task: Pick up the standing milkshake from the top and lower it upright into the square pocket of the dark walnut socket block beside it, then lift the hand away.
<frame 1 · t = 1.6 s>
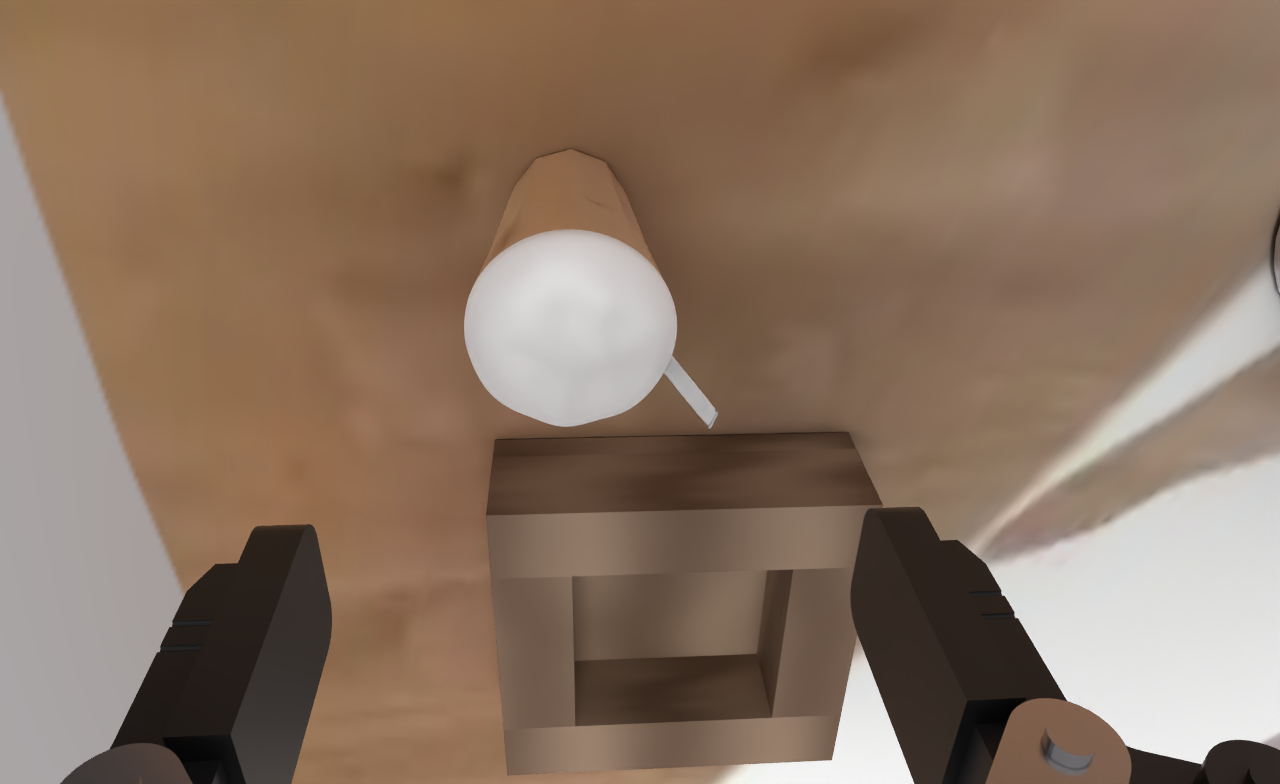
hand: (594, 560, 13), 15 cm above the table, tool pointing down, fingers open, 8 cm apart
milkshake: (582, 206, 27), on the table
socket block: (667, 570, 34), on the table
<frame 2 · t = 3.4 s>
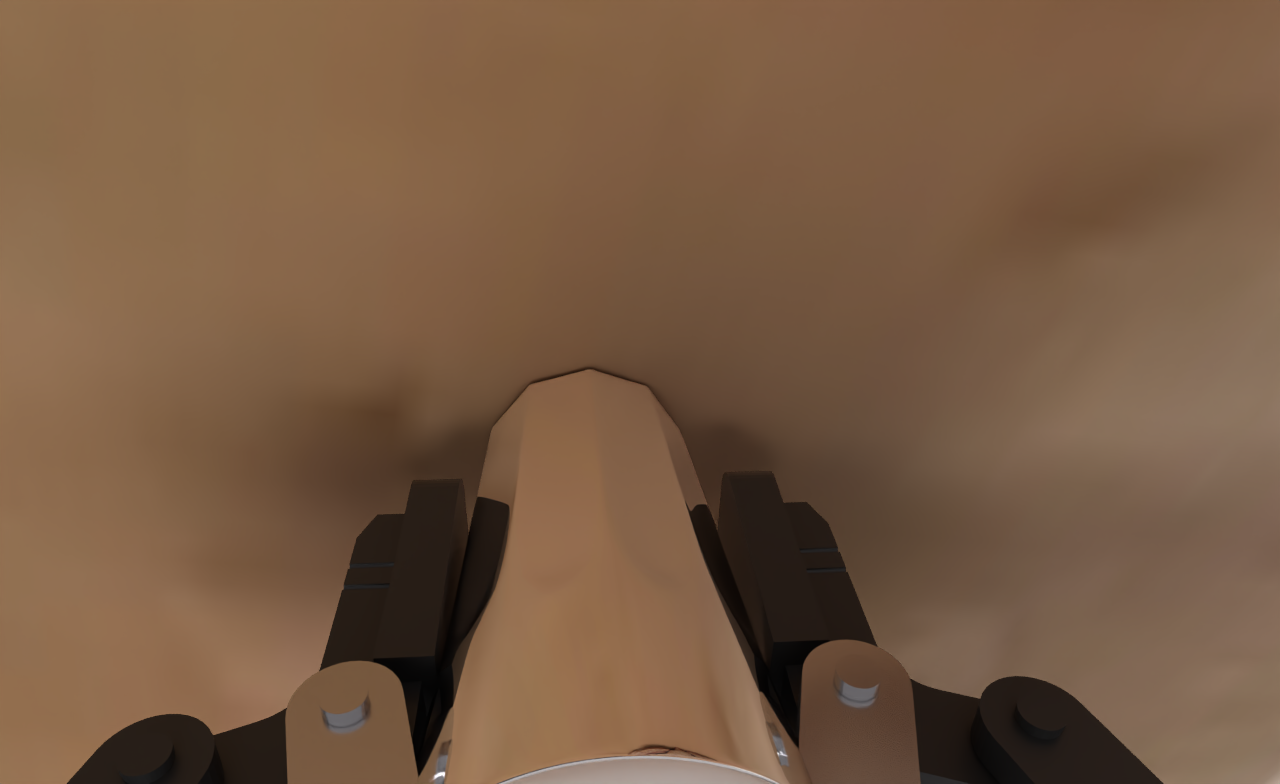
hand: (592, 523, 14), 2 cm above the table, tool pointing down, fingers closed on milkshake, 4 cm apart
milkshake: (607, 449, 16), on the table, touching gripper
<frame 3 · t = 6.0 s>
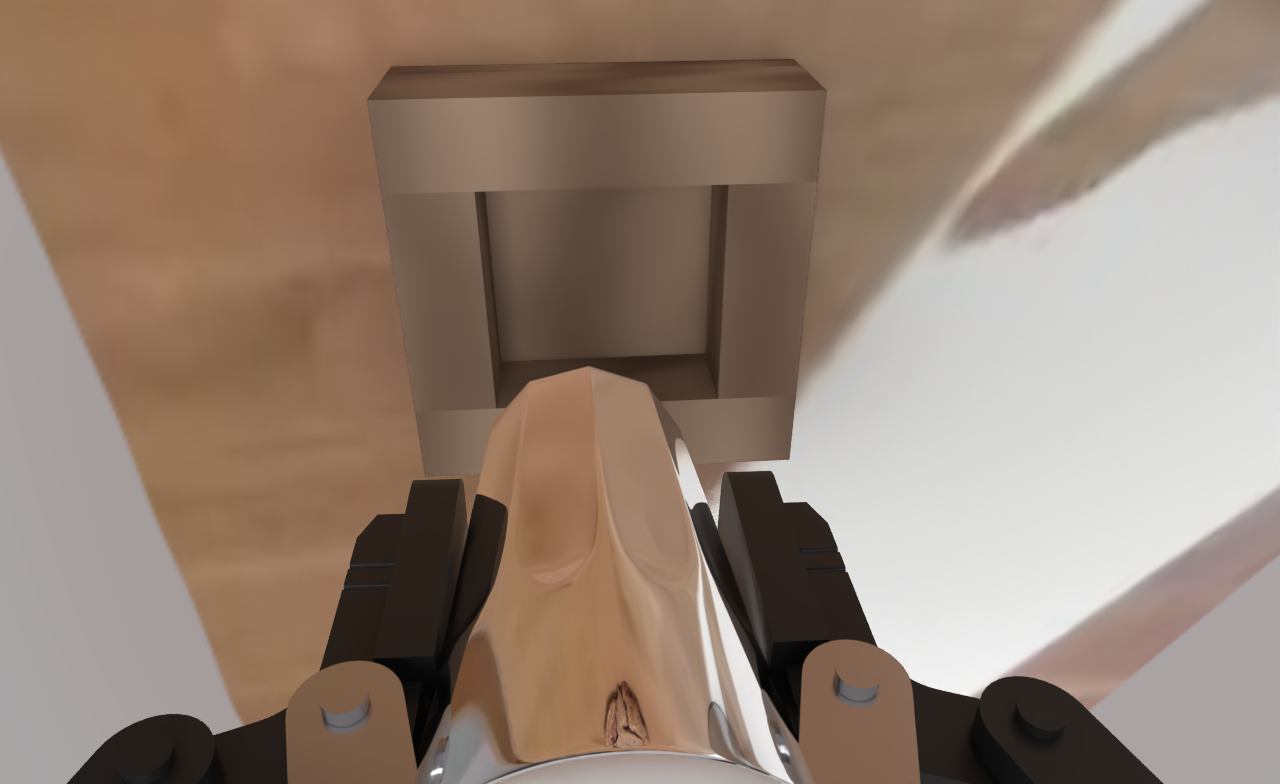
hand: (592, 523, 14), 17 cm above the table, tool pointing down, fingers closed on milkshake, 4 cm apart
milkshake: (606, 446, 16), point 15 cm above the table, touching gripper
socket block: (600, 250, 30), on the table
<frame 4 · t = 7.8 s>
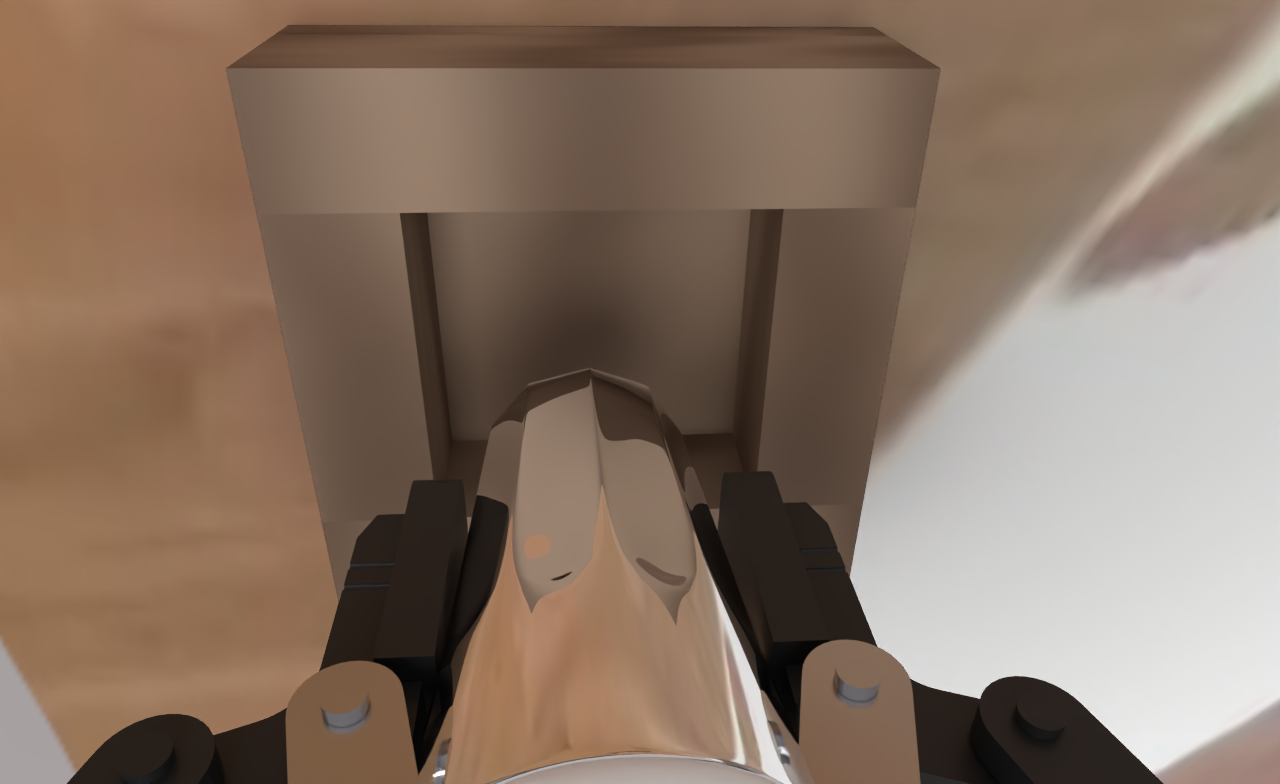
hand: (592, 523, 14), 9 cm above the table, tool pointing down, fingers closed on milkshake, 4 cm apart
milkshake: (606, 448, 16), point 7 cm above the table, touching gripper
socket block: (591, 292, 22), on the table
when the fingers open (5 cm above the table, at t = 9.0 s): milkshake drops 2 cm, resting on socket block.
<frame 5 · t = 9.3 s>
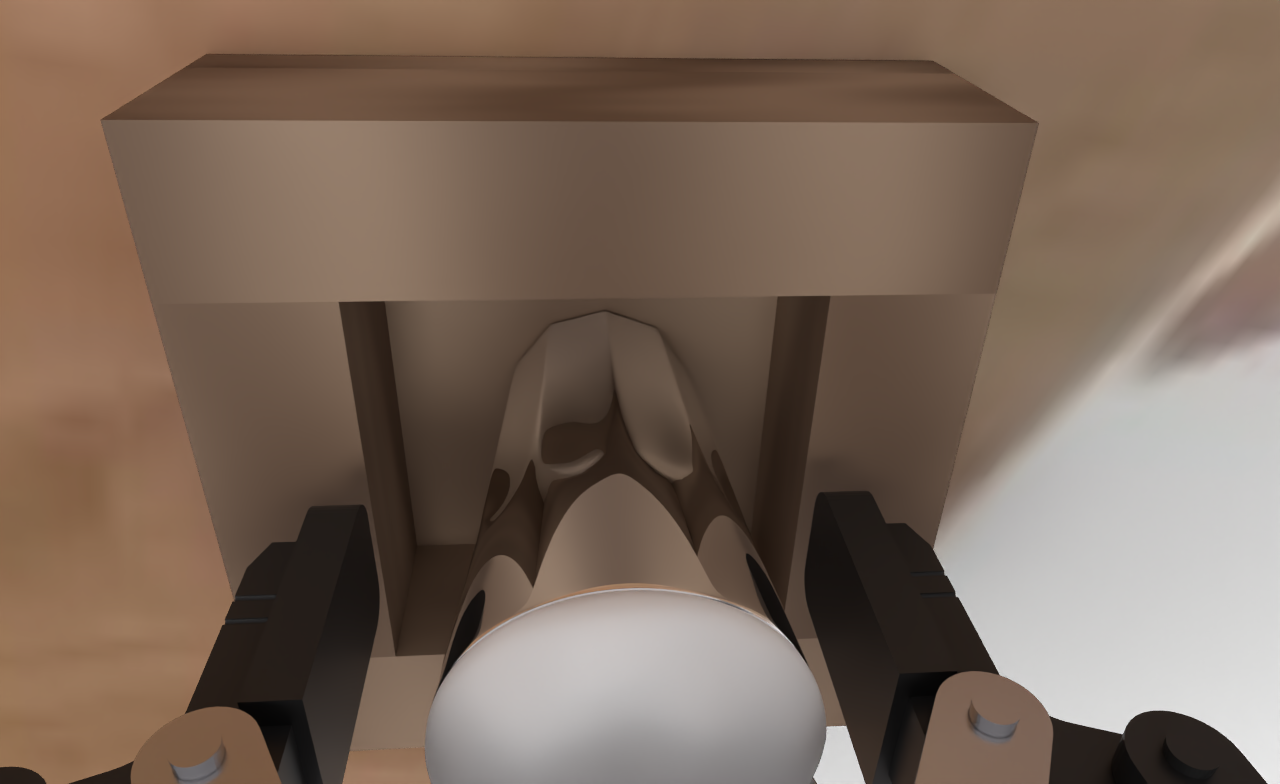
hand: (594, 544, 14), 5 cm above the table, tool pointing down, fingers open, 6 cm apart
milkshake: (619, 387, 18), point 1 cm above the table, touching socket block
socket block: (583, 371, 18), on the table
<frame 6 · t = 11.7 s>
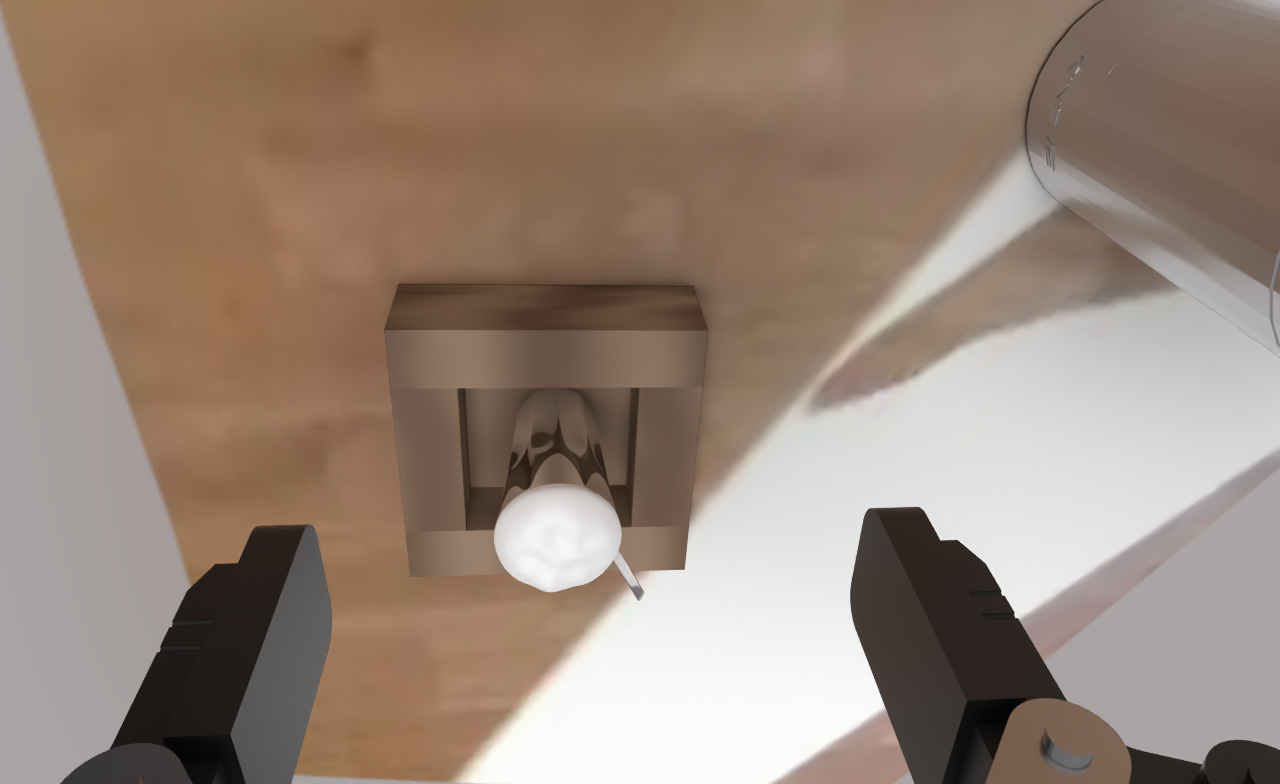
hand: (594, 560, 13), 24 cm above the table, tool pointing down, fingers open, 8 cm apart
milkshake: (563, 417, 40), point 1 cm above the table, touching socket block
socket block: (548, 409, 40), on the table
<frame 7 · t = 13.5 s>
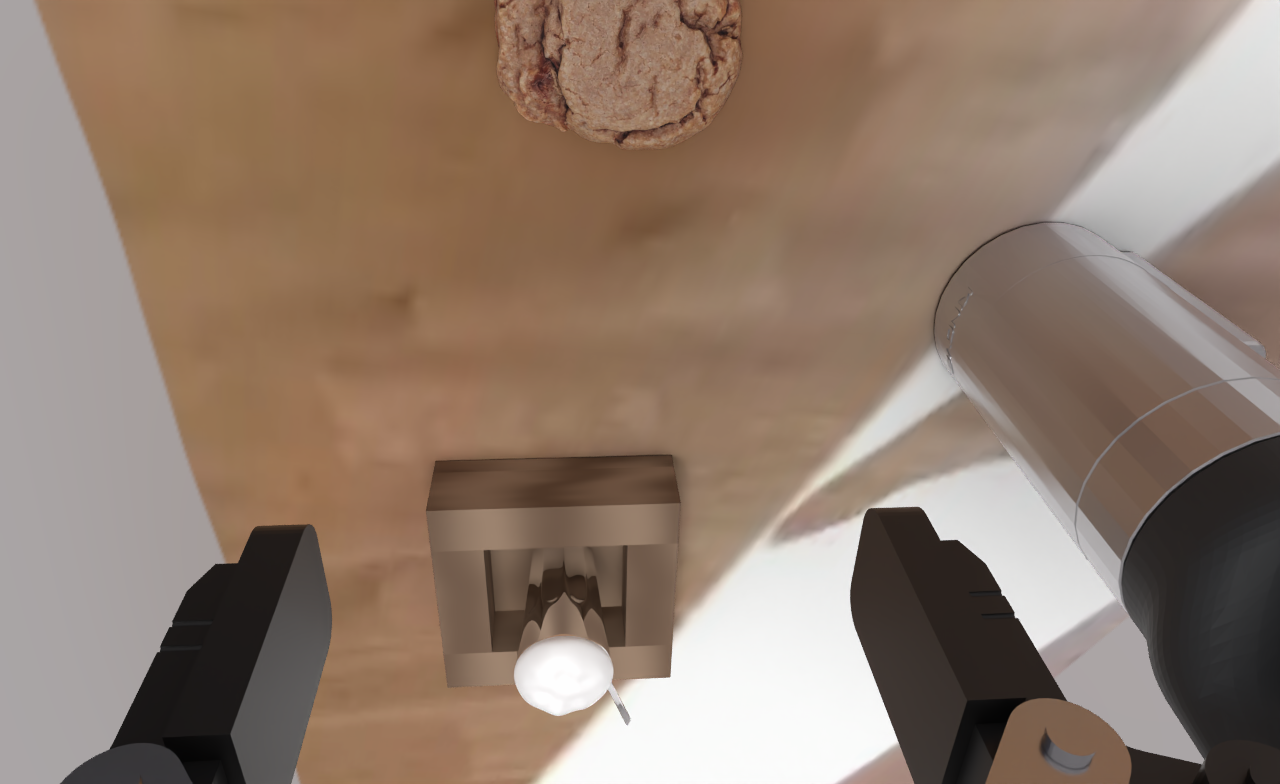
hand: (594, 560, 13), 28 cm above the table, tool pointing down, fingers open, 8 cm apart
cookie: (617, 18, 36), on the table
milkshake: (569, 556, 49), point 1 cm above the table, touching socket block
socket block: (557, 548, 50), on the table
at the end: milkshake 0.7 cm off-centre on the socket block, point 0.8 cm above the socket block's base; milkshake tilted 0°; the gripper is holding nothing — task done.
